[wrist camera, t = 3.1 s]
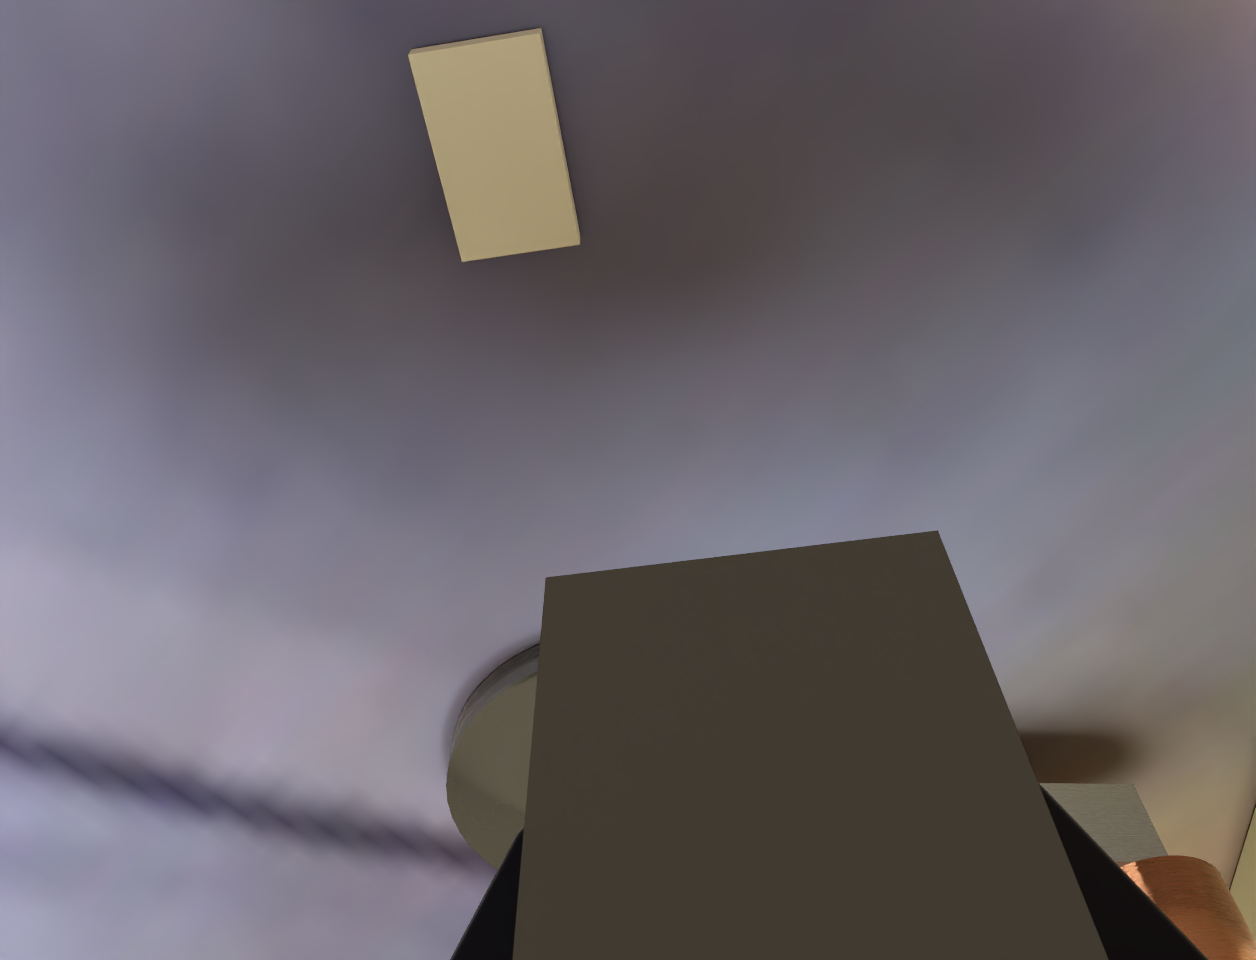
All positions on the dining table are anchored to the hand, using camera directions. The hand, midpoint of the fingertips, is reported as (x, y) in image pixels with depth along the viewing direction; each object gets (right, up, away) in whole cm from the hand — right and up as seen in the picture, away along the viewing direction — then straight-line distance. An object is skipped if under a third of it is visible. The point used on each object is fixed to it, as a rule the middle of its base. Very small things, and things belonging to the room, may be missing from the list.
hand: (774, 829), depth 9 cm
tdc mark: (-3, +8, +6) cm, 10 cm away
